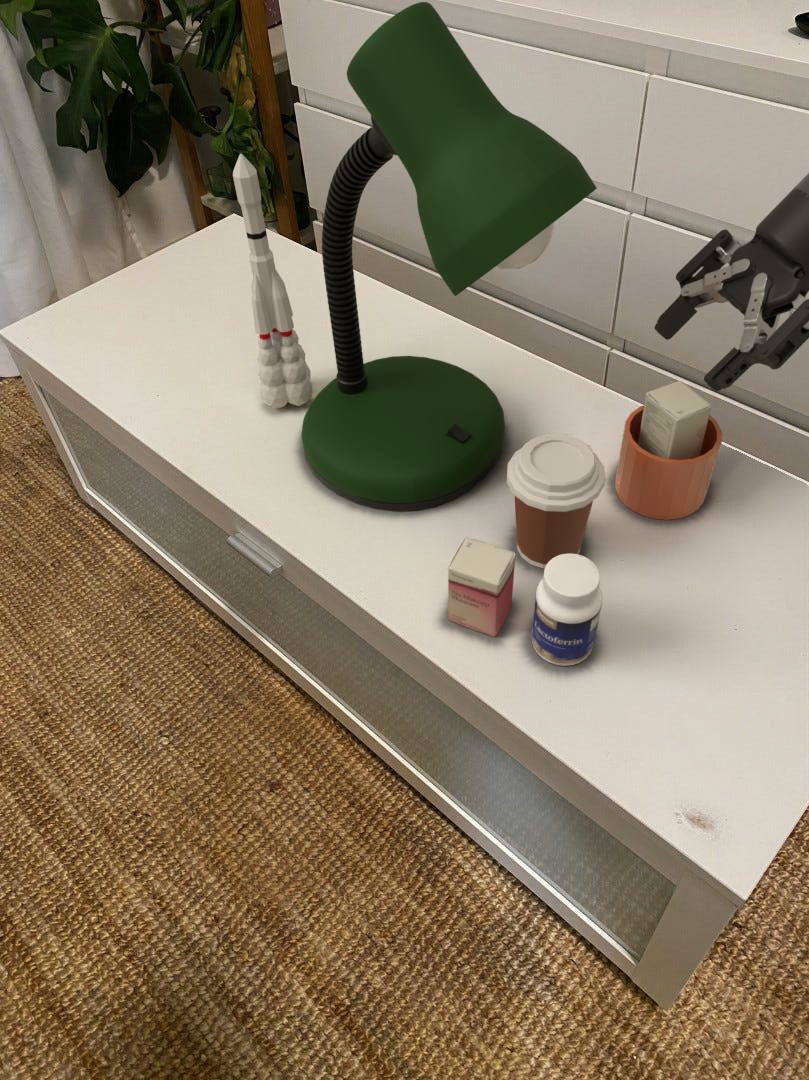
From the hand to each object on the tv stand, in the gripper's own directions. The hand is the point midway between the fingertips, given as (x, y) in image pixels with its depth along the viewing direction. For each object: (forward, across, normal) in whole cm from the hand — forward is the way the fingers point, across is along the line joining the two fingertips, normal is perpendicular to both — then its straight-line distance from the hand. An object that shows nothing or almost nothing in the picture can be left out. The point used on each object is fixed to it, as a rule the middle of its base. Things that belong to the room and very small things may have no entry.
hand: (684, 359), depth 79 cm
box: (+11, 0, +12) cm, 17 cm away
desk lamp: (+26, -14, -2) cm, 30 cm away
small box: (+29, +8, -5) cm, 30 cm away
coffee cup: (+22, +3, +2) cm, 22 cm away
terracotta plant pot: (+12, 0, +12) cm, 17 cm away
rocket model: (+35, -31, -11) cm, 48 cm away
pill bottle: (+25, +14, -1) cm, 29 cm away
